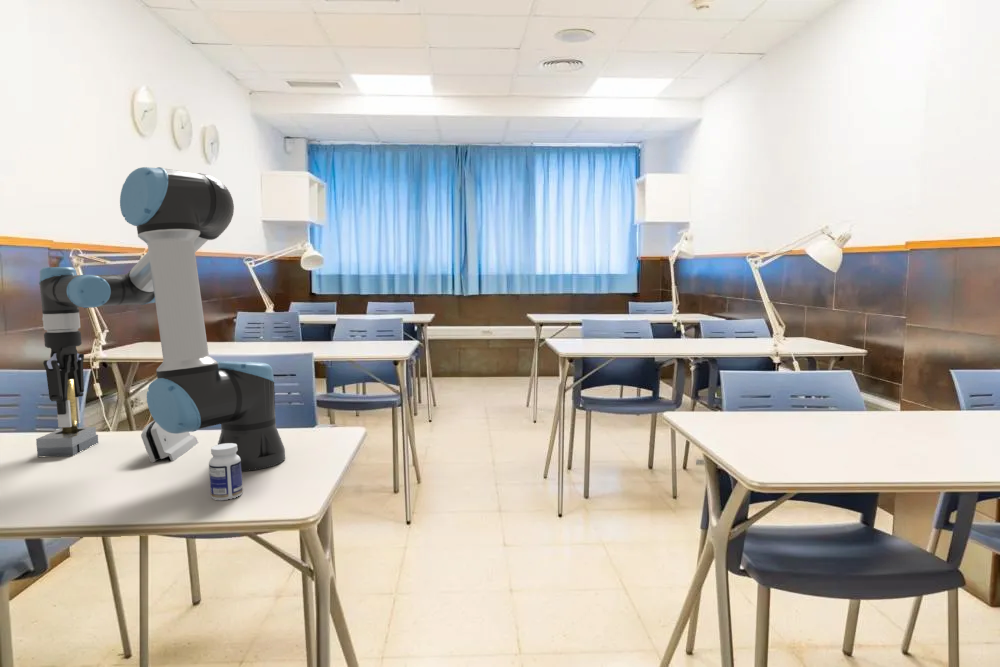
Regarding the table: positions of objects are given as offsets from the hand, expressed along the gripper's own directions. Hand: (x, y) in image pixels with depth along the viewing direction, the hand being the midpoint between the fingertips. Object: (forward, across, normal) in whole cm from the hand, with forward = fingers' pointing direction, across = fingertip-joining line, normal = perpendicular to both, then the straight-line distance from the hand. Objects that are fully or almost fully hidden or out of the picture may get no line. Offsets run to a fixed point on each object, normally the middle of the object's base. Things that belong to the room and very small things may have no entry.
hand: (69, 424), depth 162 cm
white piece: (+6, +6, +26) cm, 27 cm away
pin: (+3, 0, 0) cm, 3 cm away
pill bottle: (+6, +40, +50) cm, 64 cm away
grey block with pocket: (+6, 0, 0) cm, 6 cm away
